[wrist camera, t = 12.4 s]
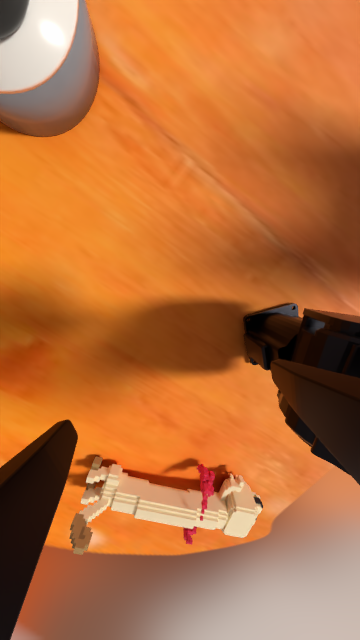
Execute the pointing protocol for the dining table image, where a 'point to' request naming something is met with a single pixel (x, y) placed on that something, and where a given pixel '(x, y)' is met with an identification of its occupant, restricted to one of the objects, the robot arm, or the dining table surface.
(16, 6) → the supplement bottle
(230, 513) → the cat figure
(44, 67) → the white round pedestal
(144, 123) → the dining table surface
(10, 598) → the robot arm
